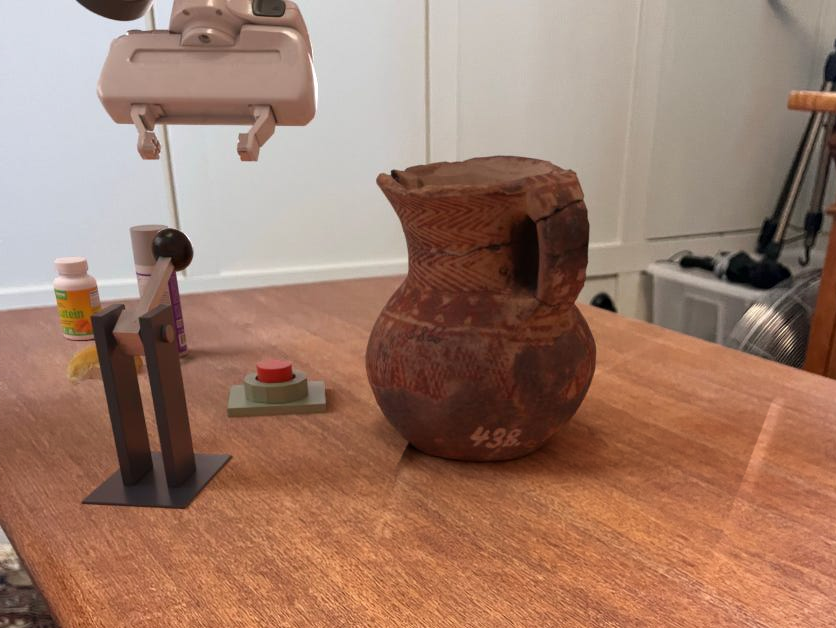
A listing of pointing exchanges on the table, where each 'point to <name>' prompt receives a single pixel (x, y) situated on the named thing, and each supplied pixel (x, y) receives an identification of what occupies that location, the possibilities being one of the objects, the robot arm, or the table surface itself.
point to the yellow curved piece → (89, 366)
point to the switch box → (276, 396)
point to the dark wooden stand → (139, 466)
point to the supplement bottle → (76, 297)
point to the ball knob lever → (153, 286)
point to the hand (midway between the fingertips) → (197, 156)
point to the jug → (485, 308)
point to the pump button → (274, 371)
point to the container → (144, 269)
